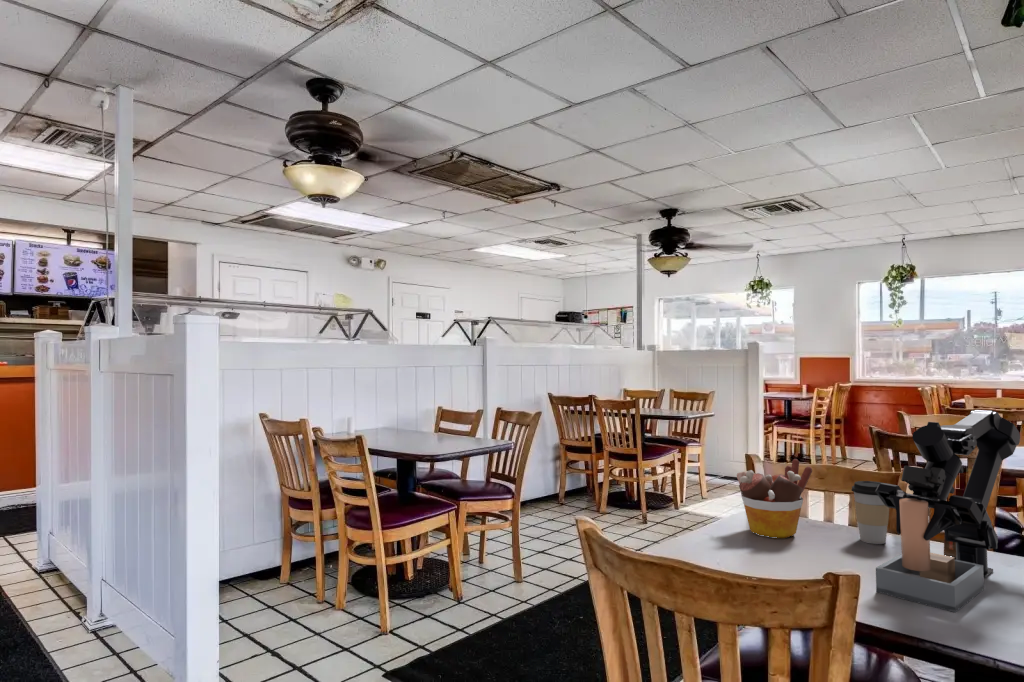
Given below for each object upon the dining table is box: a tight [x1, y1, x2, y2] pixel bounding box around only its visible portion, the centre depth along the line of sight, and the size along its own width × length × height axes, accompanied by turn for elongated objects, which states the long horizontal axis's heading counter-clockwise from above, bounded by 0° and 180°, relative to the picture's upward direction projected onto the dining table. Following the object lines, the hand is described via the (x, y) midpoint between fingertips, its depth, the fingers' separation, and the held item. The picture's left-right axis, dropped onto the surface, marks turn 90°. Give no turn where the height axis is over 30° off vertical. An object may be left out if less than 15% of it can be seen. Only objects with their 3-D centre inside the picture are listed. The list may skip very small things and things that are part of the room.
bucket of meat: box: [736, 458, 813, 539], centre depth 175 cm, size 20×16×20 cm
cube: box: [920, 551, 956, 583], centre depth 135 cm, size 5×5×5 cm
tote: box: [875, 553, 985, 613], centre depth 132 cm, size 18×14×5 cm
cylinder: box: [899, 498, 931, 571], centre depth 130 cm, size 5×5×14 cm
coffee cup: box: [851, 480, 890, 545], centre depth 167 cm, size 9×9×15 cm
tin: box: [943, 533, 956, 558], centre depth 156 cm, size 15×3×8 cm, turn 141°
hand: (911, 536), depth 129 cm, fingers closed on cylinder, 5 cm apart
